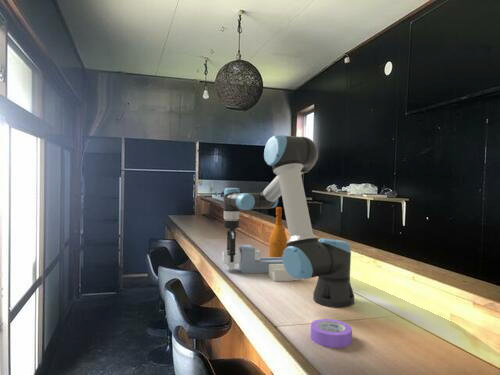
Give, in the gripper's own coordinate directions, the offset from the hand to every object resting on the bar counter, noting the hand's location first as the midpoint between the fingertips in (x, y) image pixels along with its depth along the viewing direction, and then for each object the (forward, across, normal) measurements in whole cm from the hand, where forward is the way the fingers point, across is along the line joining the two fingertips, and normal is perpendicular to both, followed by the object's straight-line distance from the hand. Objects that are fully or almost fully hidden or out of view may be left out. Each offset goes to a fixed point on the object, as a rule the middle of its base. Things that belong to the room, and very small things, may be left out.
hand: (230, 266), depth 183 cm
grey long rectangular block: (-2, 0, -5) cm, 6 cm away
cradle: (+2, -15, -22) cm, 27 cm away
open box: (+2, 0, -16) cm, 16 cm away
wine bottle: (+2, +15, -28) cm, 32 cm away
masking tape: (+2, -79, -19) cm, 81 cm away
